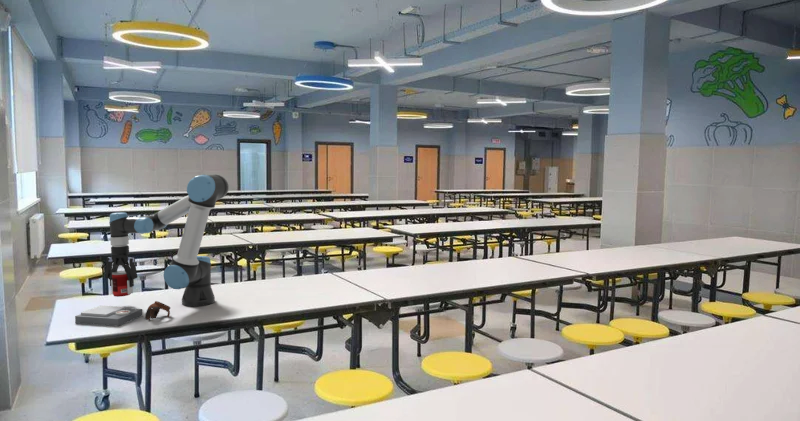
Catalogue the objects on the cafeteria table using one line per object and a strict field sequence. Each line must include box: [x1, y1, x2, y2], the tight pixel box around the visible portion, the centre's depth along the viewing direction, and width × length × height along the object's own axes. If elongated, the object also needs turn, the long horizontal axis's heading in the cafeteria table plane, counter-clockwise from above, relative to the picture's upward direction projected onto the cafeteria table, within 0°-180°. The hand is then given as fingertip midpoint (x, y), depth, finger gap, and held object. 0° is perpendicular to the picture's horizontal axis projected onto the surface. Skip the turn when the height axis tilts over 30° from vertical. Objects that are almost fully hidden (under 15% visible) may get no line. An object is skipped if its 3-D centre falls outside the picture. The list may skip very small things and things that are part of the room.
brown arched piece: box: [144, 300, 171, 321], centre depth 235 cm, size 12×10×8 cm
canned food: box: [112, 269, 131, 298], centre depth 253 cm, size 8×8×11 cm
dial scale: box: [74, 305, 143, 327], centre depth 232 cm, size 20×16×4 cm
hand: (122, 293), depth 254 cm, fingers closed on canned food, 8 cm apart
